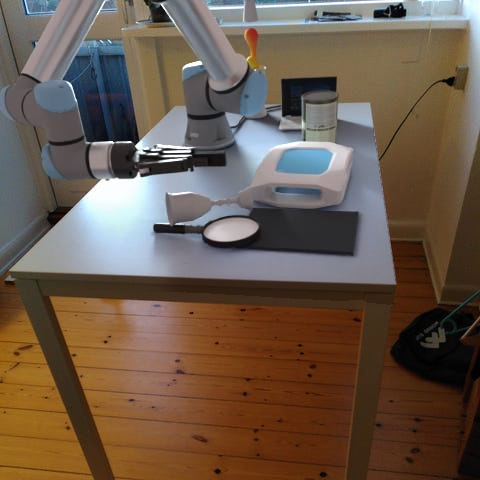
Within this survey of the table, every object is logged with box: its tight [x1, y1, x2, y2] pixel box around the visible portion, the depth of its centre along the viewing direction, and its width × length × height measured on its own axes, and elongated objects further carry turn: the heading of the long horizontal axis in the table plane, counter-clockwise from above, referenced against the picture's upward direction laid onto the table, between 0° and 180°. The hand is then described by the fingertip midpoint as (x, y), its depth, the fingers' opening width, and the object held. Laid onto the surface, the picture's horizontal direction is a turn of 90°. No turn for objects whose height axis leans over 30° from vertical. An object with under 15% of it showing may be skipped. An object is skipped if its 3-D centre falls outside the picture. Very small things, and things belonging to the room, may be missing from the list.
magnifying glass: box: [152, 214, 261, 250], centre depth 110 cm, size 12×24×2 cm, turn 73°
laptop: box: [278, 75, 338, 131], centre depth 164 cm, size 18×12×13 cm
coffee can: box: [301, 90, 340, 144], centre depth 147 cm, size 10×10×14 cm
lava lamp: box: [242, 0, 268, 119], centre depth 170 cm, size 9×9×35 cm
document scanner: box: [249, 140, 354, 210], centre depth 127 cm, size 21×28×6 cm
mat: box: [234, 206, 360, 257], centre depth 110 cm, size 18×24×1 cm
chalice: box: [165, 186, 254, 226], centre depth 111 cm, size 7×7×18 cm
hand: (225, 158), depth 105 cm, fingers closed
